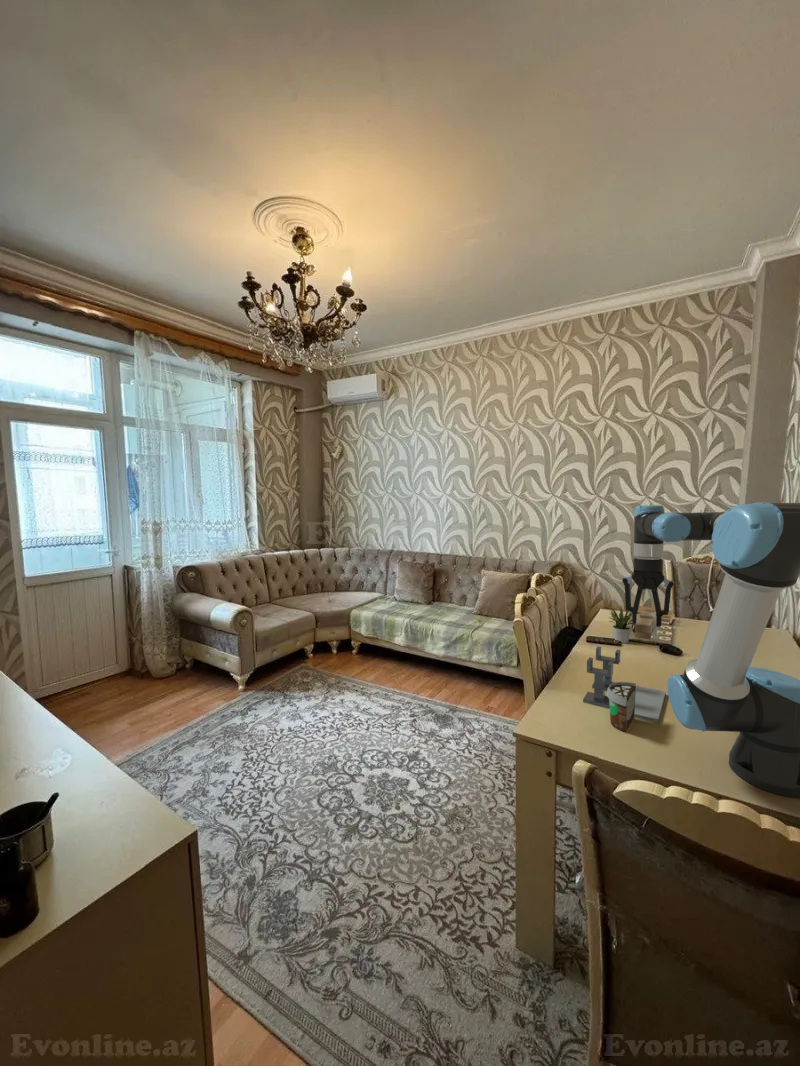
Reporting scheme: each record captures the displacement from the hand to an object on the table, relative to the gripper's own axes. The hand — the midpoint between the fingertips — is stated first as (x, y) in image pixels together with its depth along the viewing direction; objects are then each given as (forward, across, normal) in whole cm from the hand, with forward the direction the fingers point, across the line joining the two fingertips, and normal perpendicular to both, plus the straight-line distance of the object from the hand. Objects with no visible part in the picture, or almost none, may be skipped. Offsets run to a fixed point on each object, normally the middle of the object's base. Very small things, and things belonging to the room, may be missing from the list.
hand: (646, 635), depth 129 cm
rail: (-2, 0, 0) cm, 2 cm away
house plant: (+21, +14, -59) cm, 64 cm away
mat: (+21, 0, -1) cm, 21 cm away
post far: (+21, +12, -7) cm, 25 cm away
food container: (+22, +5, +15) cm, 27 cm away
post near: (+21, +12, +5) cm, 25 cm away
